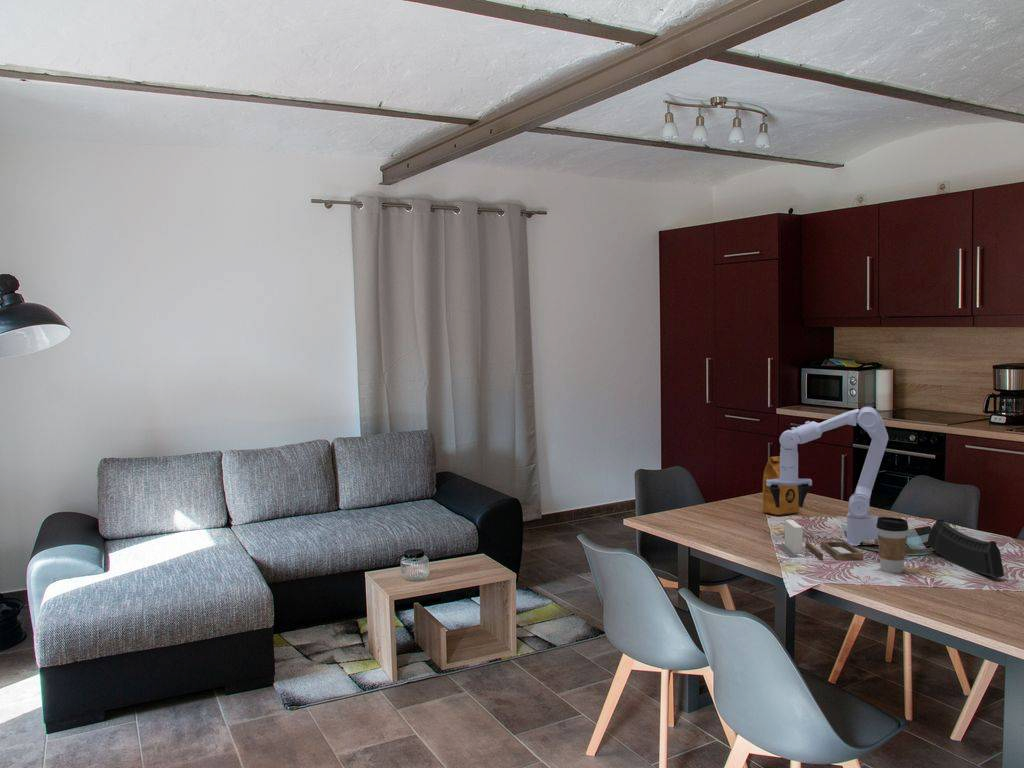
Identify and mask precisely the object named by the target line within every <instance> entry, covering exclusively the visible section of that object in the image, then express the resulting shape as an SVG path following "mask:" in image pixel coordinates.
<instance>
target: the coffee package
mask: <svg viewBox="0 0 1024 768" xmlns="http://www.w3.org/2000/svg"><path fill="white" fill-rule="evenodd" d="M762 477H763V478H762V511H763V513H764V514H770V515H775V516H782V515H791V514H794V513H796V514H797V513H799V510H800V509H801V507H799V505H798V498H799V494H798V485H789V486H778V487H779V488H780V495H779V504H780V506H779V508H777V507H775V501H774V498H773V495H772V492H771V490H770V488H769V486H767V485H766V480H769V479H780V455H778V456H770V457H769V459H768V460H767V462H766V466H765V467H764V471H763V476H762Z"/></svg>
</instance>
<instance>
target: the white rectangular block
mask: <svg viewBox="0 0 1024 768" xmlns="http://www.w3.org/2000/svg"><path fill="white" fill-rule="evenodd" d="M803 529H804V527H803V526H801V525H800V524H799V523H797V521H795V520H793V519H784V544H785V547H787V548H788V549H789V550H790V551H791V552H792V553H793V554H795V555H796V554H803V549H804V547H803V541H804V539H803V536H804V533H803V532H804V531H803Z"/></svg>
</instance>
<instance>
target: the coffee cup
mask: <svg viewBox="0 0 1024 768" xmlns="http://www.w3.org/2000/svg"><path fill="white" fill-rule="evenodd" d="M877 518H878V519H877V524H876V525H877V526H876V527H877V528H878V545H879V546H878V552H879V553H878V555H879V561H880V562H879V566H880V570H881V571H883V572H885V571H886V573H891V574H893V573H894V574H899V573H903V572H904V566H905V556H906V549H907V541H908V540H907V539H908V535H907V532H908V530H909V524H908V520H906V519H904V518H900V517H899V518H898V517H891V516H890V517H889V516H877Z"/></svg>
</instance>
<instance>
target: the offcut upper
mask: <svg viewBox="0 0 1024 768" xmlns="http://www.w3.org/2000/svg"><path fill="white" fill-rule="evenodd" d="M832 548H833V549H834V550H836V551H837V552H838V553H852V552H850V551H848V550H846V549H844V548H842V547H832Z"/></svg>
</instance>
